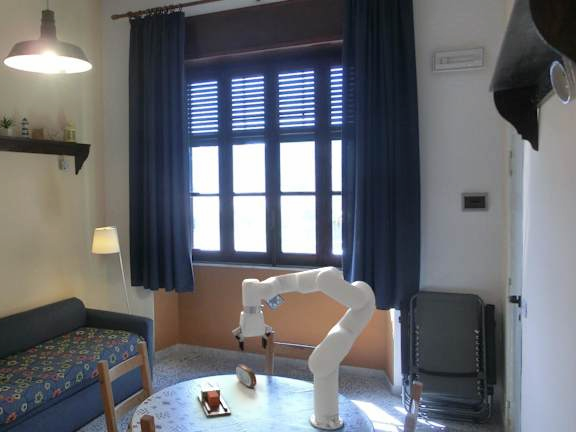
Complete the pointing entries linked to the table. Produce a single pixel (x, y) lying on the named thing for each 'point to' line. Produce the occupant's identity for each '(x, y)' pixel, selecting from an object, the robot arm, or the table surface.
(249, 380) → the tin
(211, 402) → the block
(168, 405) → the table surface
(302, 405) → the table surface
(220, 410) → the cradle
